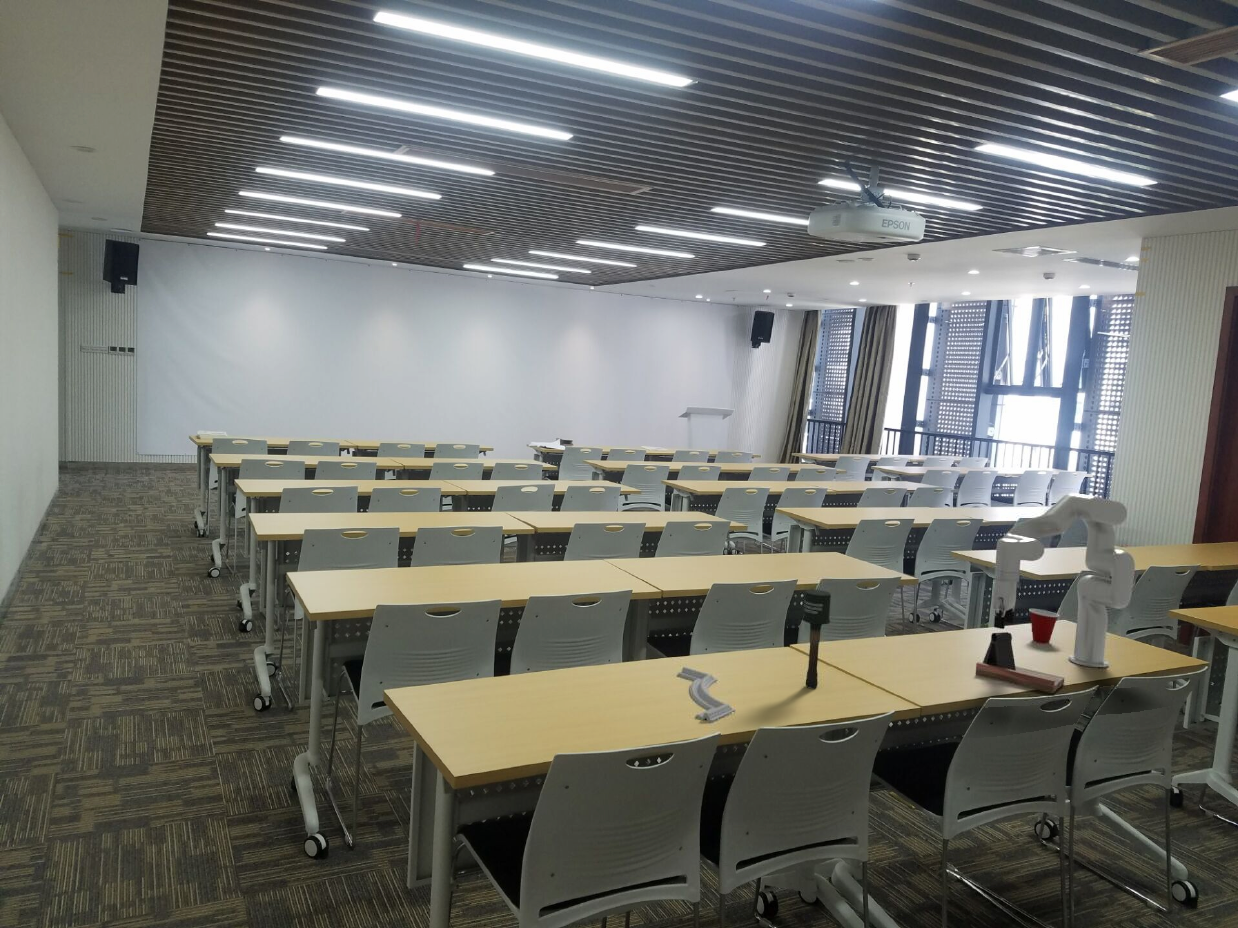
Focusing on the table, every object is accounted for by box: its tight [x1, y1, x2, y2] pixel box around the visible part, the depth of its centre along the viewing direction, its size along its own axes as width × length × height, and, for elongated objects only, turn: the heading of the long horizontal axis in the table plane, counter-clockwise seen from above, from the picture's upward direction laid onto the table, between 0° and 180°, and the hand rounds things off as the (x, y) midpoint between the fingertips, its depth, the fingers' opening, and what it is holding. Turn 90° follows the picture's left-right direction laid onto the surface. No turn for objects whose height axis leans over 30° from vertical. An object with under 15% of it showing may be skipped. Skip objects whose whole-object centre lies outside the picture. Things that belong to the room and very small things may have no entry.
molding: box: [676, 666, 736, 723], centre depth 257 cm, size 42×12×3 cm, turn 5°
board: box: [975, 661, 1065, 694], centre depth 288 cm, size 14×24×4 cm, turn 50°
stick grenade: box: [801, 589, 832, 689], centre depth 268 cm, size 8×9×30 cm
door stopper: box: [982, 631, 1016, 671], centre depth 293 cm, size 9×6×12 cm, turn 16°
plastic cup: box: [1028, 608, 1060, 645], centre depth 337 cm, size 11×11×12 cm
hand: (1003, 625), depth 292 cm, fingers open, 9 cm apart
